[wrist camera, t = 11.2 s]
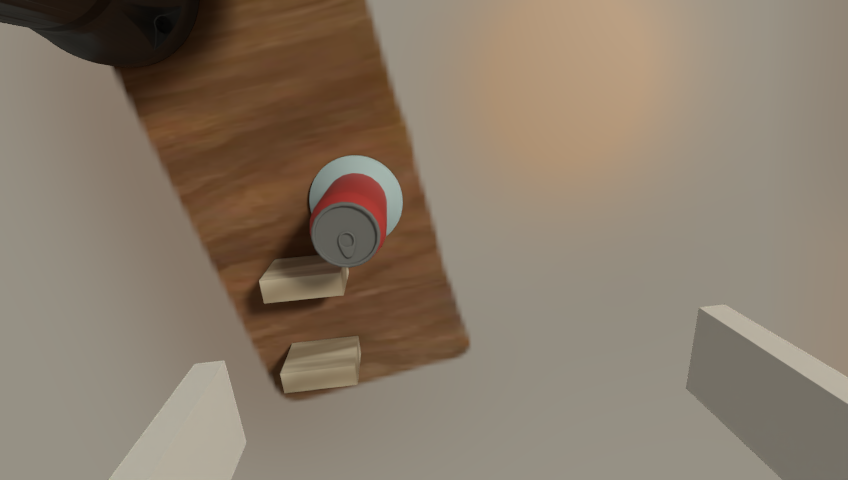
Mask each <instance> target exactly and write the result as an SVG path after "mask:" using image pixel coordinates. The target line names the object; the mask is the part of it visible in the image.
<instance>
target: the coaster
mask: <svg viewBox="0 0 848 480" xmlns="http://www.w3.org/2000/svg"><path fill="white" fill-rule="evenodd" d="M350 173H359V174H364V175H367V176H369V177H372V178H373V179H374V180H375V181H376V182H378V183H379V184H380V186H381V187H382V189H383V190H384V192H385V196H386V199H387V231H386V236H387V235H388V234H389V233H390V232H391V231H392V230H393V229H394V227H395V226H396V224H397V223H398V221H399V218H400V216H401V212H402V205H403V200H402V192H401V189H400V185H399V183H398V181H397V179H396V178H395V176H394V175H393V173H392V172H391V171H390V170H389V169H388V168H387V167H386V166H385V165H383V164H382V163H380V162H379V161H377V160H375V159H372V158H370V157H366V156H360V155H349V156H344V157H340V158H338V159H335V160H333V161H332V162H330V163H328V164H327V165H326V166H325V167H324V168H322V170H321V171H320V172H319V173H318V174H317V176H316V177H315V179H314V181H313V183H312V186H311V190H310V197H309V202H310V209H311V213H312V212H313V209H314V208H315V206H316V205H317V203H318V202H319V201H320V199H321V198H322V196H323V195H324V194H325V192H326V191H327V189H328V188H329V187H330V185H331V184H332V183H333V182H334V181H335V180H336V179H338V178H339V177H341V176H342V175H346V174H350Z"/></svg>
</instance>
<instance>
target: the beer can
mask: <svg viewBox="0 0 848 480" xmlns="http://www.w3.org/2000/svg"><path fill="white" fill-rule="evenodd" d="M386 231H387V199H386V196H385V192H384V190H383V189H382V187H381V186H380V184H379V183H378V182H376V181H375V180H374V179H373V178H372V177H369V176H367V175H364V174H359V173H350V174H346V175H342V176H341V177H339V178H338V179H336V180H335V181H334V182H333V183H332V184H331V185H330V187H329V188H328V189H327V191H326V192H325V194H324V195H323V196H322V198H321V199H320V201H319V202H318V203H317V205H316V206H315V208H314V209H313V212H312V215H311V218H310V235H311V240H312V242H313V245H314V248H315V250H316V251H317V253H318V254H319V255H320V257H321V258H323V259H324V260H326V261H327V262H328V263H330V264H333V265H336V266H338V267H355V266H359V265H361V264H363V263H365V262H366V261H368V260H370V259H371V257H373V256H374V255H375V254H376V252H377V251H378V250H379V249H380V248H381V247H382V245H383V242H384V240H385V238H386Z"/></svg>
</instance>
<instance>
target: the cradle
mask: <svg viewBox="0 0 848 480" xmlns="http://www.w3.org/2000/svg"><path fill="white" fill-rule="evenodd" d="M348 274H349V270H348V267H338V266H336V265H333V264H330V263H328V262H327V261H326V260H324V259H323V258H321V257H320V255H312V256H302V257H292V258H282V259H275V260H274V261H273V262H272V264H271V265H270V266H269V268H268V269H267V271H266V272H265V273H264V275H263V276H262V277H261V279H260V280H259V284H260V288H261V292H262V297H263V301H264V304H265V303H274V302H284V301H293V300H302V299H312V298H321V297H330V296H340V295H344V291H345V287H346V282H347V278H348ZM360 356H361V351H360V344H359V338H358V336H352V337H343V338H334V339H325V340H317V341H308V342H299V343H292V345H291V348H290V350H289V353H288V355H287V358H286V360H285V363H284V365H283V368H282V371H281V373H280V376H281V381H282V385H283V389H284V393H291V392H299V391H307V390H316V389H324V388H332V387H341V386H349V385H357V384H358V375H359V366H360Z"/></svg>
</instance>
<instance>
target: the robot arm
mask: <svg viewBox="0 0 848 480" xmlns="http://www.w3.org/2000/svg"><path fill="white" fill-rule="evenodd" d="M198 6H199V0H0V22H2V23H8V24H12V25H18V26H23V27H28V28H30V29H32V30H33V31H35V32H36V33H38V34H40V35H41V36H43V37H44V38H46V39H48V40H49V41H50V42H52V43H53V44H55V45H56V46H58V47H59V48H61V49H63V50H65V51H66V52H68V53H70V54H72V55H74V56H77V57H79V58H82V59H85V60H88V61H91V62H95V63H98V64H104V65H110V66H117V67H142V66H147V65H151V64H154V63H156V62H159V61H161V60H163V59H165V58H167V57H168V56H170V55H171V54H172V53H174V52H175V51H176V50H177V49H178V48H179V47H180V46H181V45H182V44H183V42H184V41H185V40H186V38H187V37H188V35H189V34H190V32H191V30H192V27H193V25H194V22H195V19H196V16H197V12H198ZM686 389H687V390H688V391H689V392H691V393H692V394H693V395H694V396H695V397H696V398H697V399H698V400H699V401H700V402H701V403H702V404H703V405H704V406H705V407H707V409H708V410H710V411H711V412H712V413H713V414H714V415H715V416H716V417H717V418H718V419H719V420H720V421H721V422H722V423H723V424H724V425H726V427H727V428H729V429H730V430H731V431H732V432H733V433H734V434H735V435H736V436H737V437H738V438H739V439H740V440H741V441H742V442H743V443H744V444H746V446H748V447H749V448H750V449H751V450H752V451H753V452H754V453H755V454H756V455H757V456H758V457H759V458H760V459H761V460H762V461H764V463H765V464H767V465H768V466H769V467H770V468H771V469H772V470H773V471H774V472H775V473H776V474H777V475H778V476H779V477H780V478H781V479H782V480H848V377H846V376H845V375H843V374H841V373H840V372H838V371H836V370H834V369H833V368H831V367H830V366H828V365H826V364H824V363H823V362H821V361H819V360H818V359H816V358H814V357H813V356H811V355H809V354H808V353H806V352H804V351H802V350H801V349H799V348H797V347H796V346H794V345H792V344H791V343H789V342H787V341H785V340H784V339H782V338H780V337H779V336H777V335H775V334H774V333H772V332H770V331H769V330H767V329H765V328H763V327H762V326H760V325H758V324H757V323H755V322H753V321H752V320H750V319H748V318H746V317H745V316H743V315H741V314H740V313H738V312H736V311H734V310H733V309H731V308H730V307H728V306H726V305H717V306H708V307H699V310H698V316H697V324H696V329H695V336H694V342H693V348H692V354H691V360H690V367H689V373H688V379H687V386H686ZM246 443H247V442H246V439H245V435H244V431H243V427H242V424H241V420H240V417H239V413H238V409H237V405H236V402H235V398H234V394H233V391H232V387H231V383H230V379H229V376H228V372H227V369H226V365H225V361H216V362H207V363H199V364H194V365H193V367H192V368H191V369H190V371H189V372H188V373H187V375H186V376H185V378H184V379H183V380H182V381H181V383H180V384H179V385H178V387H177V388H176V389H175V391H174V392H173V394H172V395H171V396H170V398H169V399H168V400H167V402H166V403H165V404H164V406H163V407H162V408H161V410H160V411H159V412H158V414H157V415H156V416H155V418H154V419H153V420H152V422H151V423H150V424H149V426H148V427H147V428H146V430H145V431H144V433H143V434H142V435H141V437H140V438H139V439H138V440H137V442H136V443H135V444H134V446H133V447H132V448H131V450H130V451H129V453H128V454H127V455H126V457H125V458H124V459H123V461H122V462H121V463H120V465H119V466H118V467H117V469H116V470H115V471H114V473H113V474H112V475H111V477H110V478H109V479H108V480H231V479H232V476H233V474H234V472H235V469H236V467H237V464H238V462H239V460H240V457H241V455H242V452H243V450H244V447H245V445H246Z"/></svg>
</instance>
